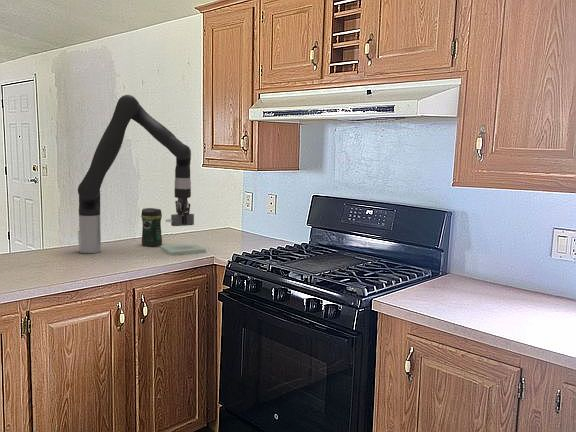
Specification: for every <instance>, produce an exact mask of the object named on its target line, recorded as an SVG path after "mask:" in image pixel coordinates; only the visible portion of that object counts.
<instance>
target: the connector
mask: <svg viewBox="0 0 576 432" xmlns="http://www.w3.org/2000/svg"><path fill="white" fill-rule="evenodd" d="M165 222H166V223H170V224H171V227H186V226H194V225H195V213H189V215H188V216H187V224H182V214H178V213H175V214H171V215H170V218H165Z"/></svg>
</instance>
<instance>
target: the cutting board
mask: <svg viewBox="0 0 576 432" xmlns="http://www.w3.org/2000/svg"><path fill="white" fill-rule="evenodd" d="M159 250H161V251H163V252H164V253H166V254H167V255H170V256H171V257H172V256H180V255H191V254H192V253H194V254H203V253H204V254H205V253H207V248H204V247H202V246H200V245H198V244H196V243H194V242H193V243H192V242H191V243H177V244H166V245H165V244H164V245H160V246H159Z"/></svg>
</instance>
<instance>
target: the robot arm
mask: <svg viewBox="0 0 576 432" xmlns="http://www.w3.org/2000/svg"><path fill="white" fill-rule="evenodd" d="M131 120H132V121H134V122H136V123H137V124H138V125H140V126H141V127H142V128H144V129H145V130H146V131H147V132H148V133H149V135H151V136H152V137H153V138H154V139H155V140H156V141H157V142H158V143H160V144H161V145H162V146H163V147H165V148H166V149H167V150H168V151H169V152H170V153H171V154H172V155H173V156H174V157H175V161H176V162H175V169H174V198H176V199H177V200H175V210H176V211H175V214H182V224H187V216H188V215H189V214H190V211H191V210H190V209H191V203H189V201H188V198H189V199H190V198H191V197H192V194H191V193H192V181H191V160H192V159H191V158H192V152H191V151H192V150H191V148H190V146H188V145H186V144H185V143H183V142H182V141H181V140H179V138H178V137H177V136H175V134H174V133H173V132H171V131H170V130H169V129H168V128H167V127H166V126H165V125H163V124H162V123H160V121H157V120H156V118H153V117H152V116H151V115H150V114H149V113H148V112H147V111H146V110H145V109H144V108H143V106H142V105H141V104H140V103H139V101H138V100H137V98H136V97H135V96H133V95H131V94H124V95H122V96H120V97H119V99H117V102H116V105H115V109H114V112H113V113H112V116H111V120H110V122H109V124H108V125H107V126H106V129H105V130H104V133H103V134H102V136H101V138H100V140H99V142H98V145H97V146H96V149H95V152H94V154H93V156H92V160H91V161H90V162H91V163H90V166H89V168H88V171H87V172H86V174H85V175H84V177H83V179H82V180H81V182H80V183H79V184H78V186H77V194H78V231H77V232H78V233H77V235H78V236H77V237H78V239H77V241H78V251H79V253H81V254H96V253H100V252H101V251H102V237H101V236H102V235H101V231H102V230H101V228H102V227H101V187H102V185H103V182H104V179H105V177H106V174H107V173H108V171H109V170H110V169H111V166H112V165H113V163H114V161H115V160H116V159H117V156H118V154H119V152H120V150H121V148H122V144H123V143H124V138H125V135H126V130H127V127H128V126H129V123H130V121H131Z"/></svg>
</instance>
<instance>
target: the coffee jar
mask: <svg viewBox="0 0 576 432" xmlns="http://www.w3.org/2000/svg"><path fill="white" fill-rule="evenodd" d="M140 217H141V219H142V220H141V221H142V230H141V245H142V246H146V247H160V246H162V244H163V237H162V225H161V223H162V217H163V213H162V210H161V209H160V208H153V207H146V208H145V207H144V208H142V210H141V216H140Z"/></svg>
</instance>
